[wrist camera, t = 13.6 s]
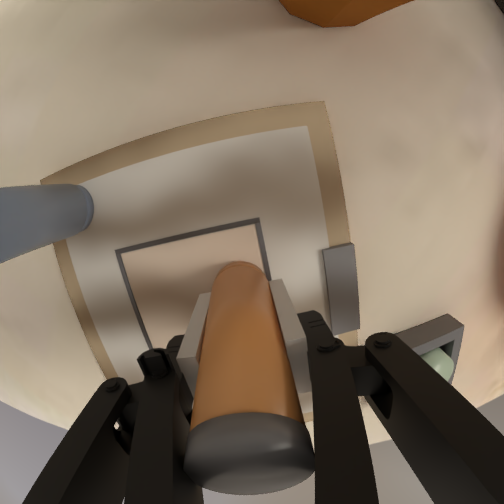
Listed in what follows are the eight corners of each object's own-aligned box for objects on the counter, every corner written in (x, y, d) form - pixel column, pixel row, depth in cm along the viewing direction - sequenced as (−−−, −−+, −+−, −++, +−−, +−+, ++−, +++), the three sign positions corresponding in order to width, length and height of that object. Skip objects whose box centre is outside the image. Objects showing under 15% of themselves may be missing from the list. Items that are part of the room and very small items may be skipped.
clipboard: (46, 180, 16) (35, 180, 15) (320, 104, 16) (326, 98, 14) (144, 432, 21) (141, 441, 20) (354, 402, 21) (358, 412, 20)
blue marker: (52, 192, 15) (-92, 215, 4) (89, 175, 15) (-72, 181, 3) (63, 240, 16) (-75, 300, 4) (101, 227, 16) (-53, 288, 4)
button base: (382, 338, 20) (396, 354, 17) (448, 313, 19) (464, 325, 17) (378, 397, 21) (388, 415, 19) (438, 373, 21) (450, 386, 19)
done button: (398, 349, 19) (415, 369, 16) (439, 333, 19) (457, 349, 16) (394, 387, 20) (408, 407, 17) (432, 370, 20) (448, 388, 17)
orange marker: (205, 265, 16) (161, 448, 5) (264, 253, 16) (314, 432, 5) (220, 315, 17) (207, 497, 6) (274, 304, 17) (318, 484, 6)
